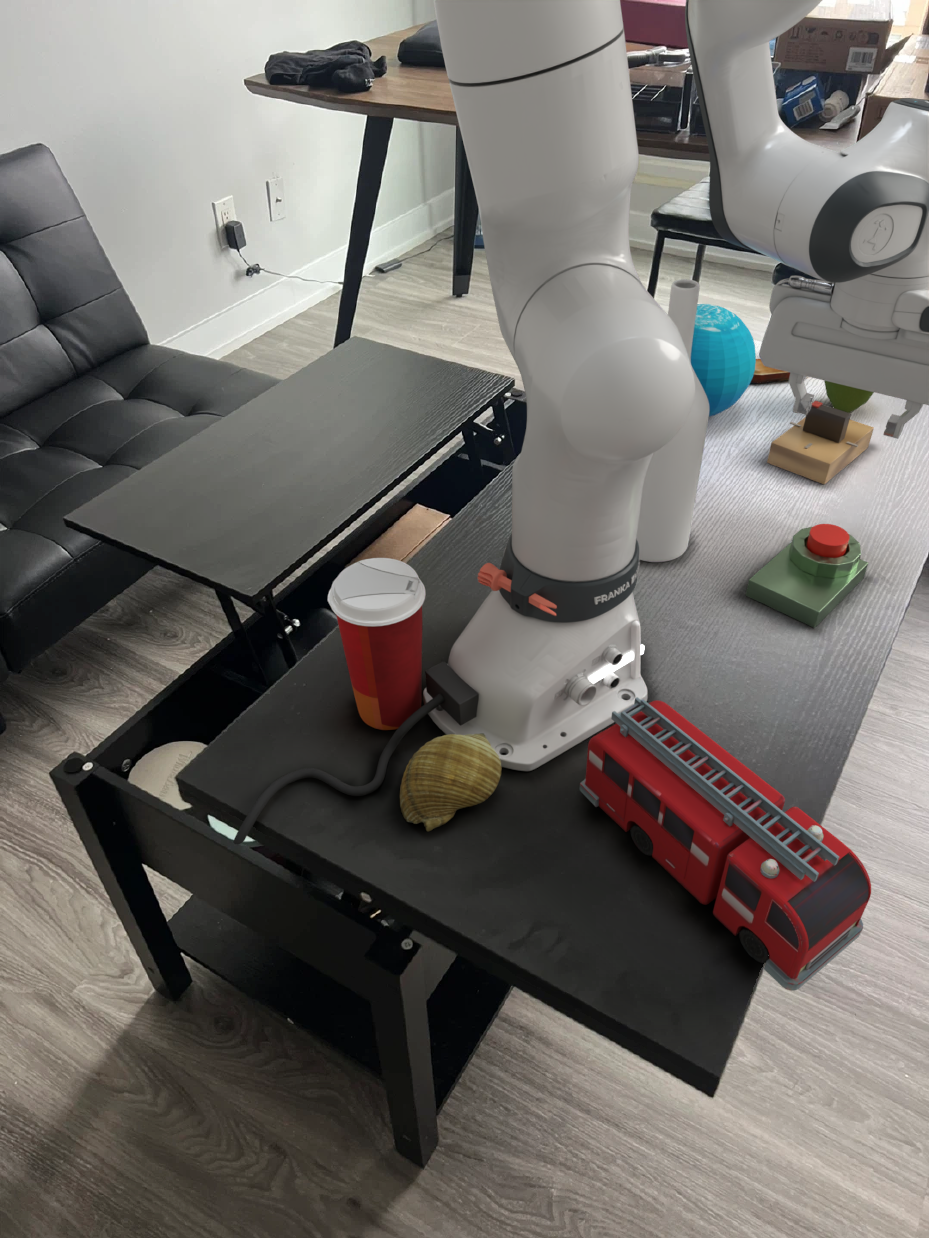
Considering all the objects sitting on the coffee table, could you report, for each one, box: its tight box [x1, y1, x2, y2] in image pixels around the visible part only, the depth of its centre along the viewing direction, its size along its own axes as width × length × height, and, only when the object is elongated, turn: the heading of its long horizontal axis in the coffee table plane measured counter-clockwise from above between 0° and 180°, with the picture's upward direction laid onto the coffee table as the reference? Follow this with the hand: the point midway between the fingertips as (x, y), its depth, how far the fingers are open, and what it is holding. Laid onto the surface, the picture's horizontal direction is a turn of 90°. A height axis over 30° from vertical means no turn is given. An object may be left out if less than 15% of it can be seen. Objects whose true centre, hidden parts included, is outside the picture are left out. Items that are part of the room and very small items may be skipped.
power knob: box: [803, 400, 852, 443], centre depth 115 cm, size 5×2×4 cm, turn 46°
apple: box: [823, 380, 875, 414], centre depth 124 cm, size 9×8×12 cm
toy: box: [579, 697, 872, 992], centre depth 69 cm, size 8×22×10 cm, turn 36°
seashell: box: [399, 733, 503, 832], centre depth 77 cm, size 10×7×8 cm
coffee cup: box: [327, 557, 426, 731], centre depth 82 cm, size 8×8×15 cm
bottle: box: [636, 278, 710, 563], centre depth 95 cm, size 8×8×30 cm
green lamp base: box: [745, 526, 869, 629], centre depth 97 cm, size 12×8×4 cm, turn 136°
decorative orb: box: [691, 303, 757, 418], centre depth 123 cm, size 15×15×15 cm
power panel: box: [766, 416, 875, 485], centre depth 117 cm, size 12×9×3 cm
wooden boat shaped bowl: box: [750, 358, 790, 385], centre depth 135 cm, size 14×6×2 cm, turn 87°
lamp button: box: [807, 523, 850, 558], centre depth 97 cm, size 4×4×2 cm
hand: (845, 423), depth 95 cm, fingers open, 8 cm apart
